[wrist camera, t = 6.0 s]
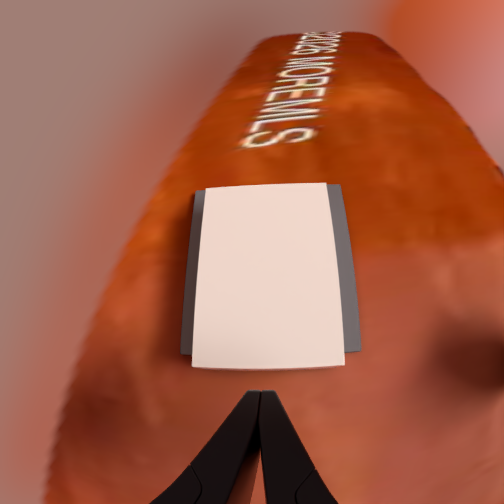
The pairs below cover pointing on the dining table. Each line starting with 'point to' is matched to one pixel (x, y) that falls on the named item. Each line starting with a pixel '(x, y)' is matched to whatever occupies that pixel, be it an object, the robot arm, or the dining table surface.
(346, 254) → the mat
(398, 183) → the dining table surface
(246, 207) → the white rectangular block
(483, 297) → the dining table surface
